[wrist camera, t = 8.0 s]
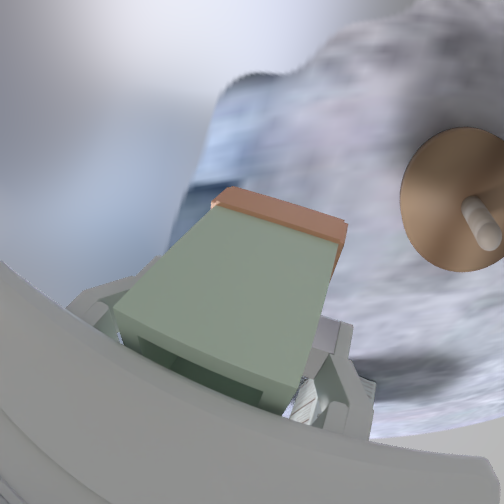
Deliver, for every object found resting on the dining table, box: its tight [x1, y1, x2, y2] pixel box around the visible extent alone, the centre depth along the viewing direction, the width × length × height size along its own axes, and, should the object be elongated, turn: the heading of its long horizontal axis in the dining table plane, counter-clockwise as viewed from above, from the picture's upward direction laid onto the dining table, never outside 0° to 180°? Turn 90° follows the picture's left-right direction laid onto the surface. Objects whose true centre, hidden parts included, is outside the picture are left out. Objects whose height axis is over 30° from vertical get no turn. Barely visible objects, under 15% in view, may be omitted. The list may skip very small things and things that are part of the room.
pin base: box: [400, 127, 504, 272], centre depth 15 cm, size 11×11×6 cm
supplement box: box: [289, 376, 376, 425], centre depth 29 cm, size 7×7×13 cm
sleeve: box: [113, 186, 348, 416], centre depth 11 cm, size 5×5×8 cm
